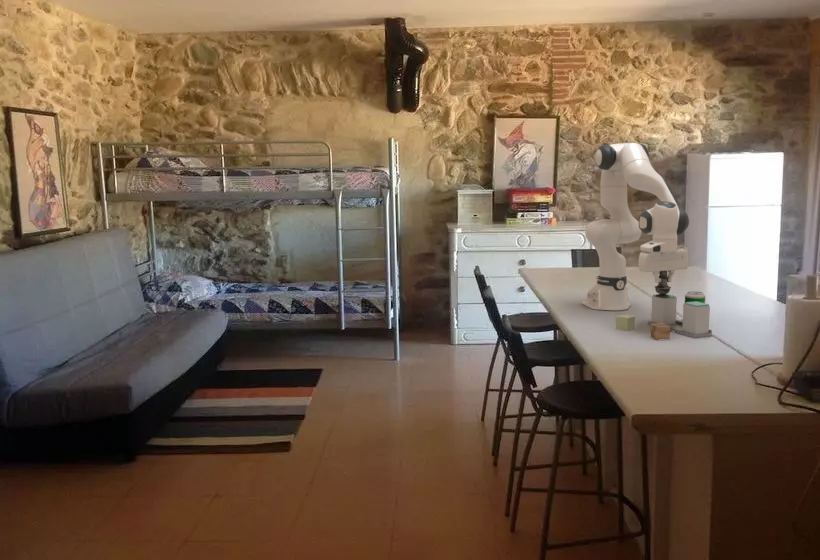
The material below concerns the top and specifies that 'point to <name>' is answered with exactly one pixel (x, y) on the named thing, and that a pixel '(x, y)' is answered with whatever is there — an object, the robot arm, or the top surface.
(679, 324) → the rail
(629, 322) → the block olive
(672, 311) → the block
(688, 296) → the soda can
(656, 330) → the block walnut
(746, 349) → the top surface
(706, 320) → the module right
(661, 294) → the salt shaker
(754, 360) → the top surface
